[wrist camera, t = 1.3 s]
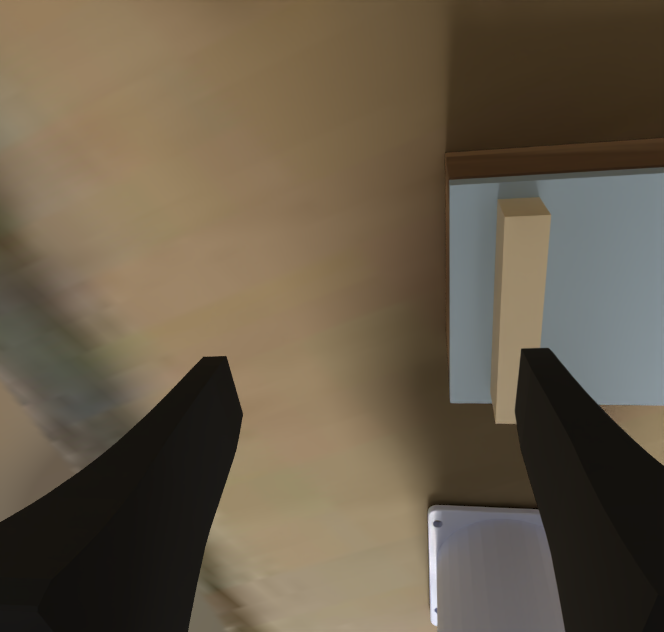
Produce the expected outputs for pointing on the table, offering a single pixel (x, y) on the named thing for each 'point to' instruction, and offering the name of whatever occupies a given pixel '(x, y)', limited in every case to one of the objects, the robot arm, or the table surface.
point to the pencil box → (546, 168)
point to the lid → (557, 283)
